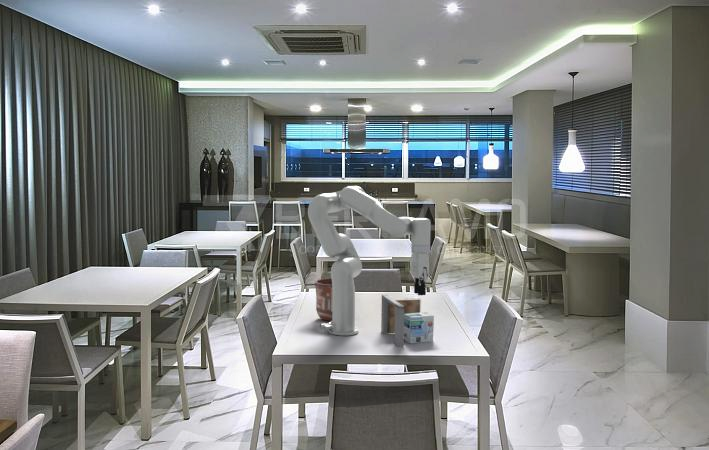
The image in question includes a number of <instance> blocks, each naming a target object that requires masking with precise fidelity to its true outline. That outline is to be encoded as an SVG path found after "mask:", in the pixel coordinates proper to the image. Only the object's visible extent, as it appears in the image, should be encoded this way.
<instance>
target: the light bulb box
mask: <svg viewBox="0 0 709 450" xmlns="http://www.w3.org/2000/svg"><path fill="white" fill-rule="evenodd" d="M434 319H435V316H434V315H433V314H432V313H429V312H427V311H425V312H424V311H423V312H422V311H421V312H420V313H410V314H404V340H405V341H406V342H407V343H409V344H417V343H419V344H420V343H431V342H434V328H435V327H434V324H435V323H434V322H435V320H434Z"/></svg>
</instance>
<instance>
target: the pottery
mask: <svg viewBox="0 0 709 450" xmlns="http://www.w3.org/2000/svg"><path fill="white" fill-rule="evenodd" d="M314 286H315V299H316V301H315V309H316V313H317V315H318V317H319V318H320V319H321V320H322V321H323V322H324V323H331V321H332V304H333V296H332V278H331V277H326V278H320V279H317V280H315V281H314Z"/></svg>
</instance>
